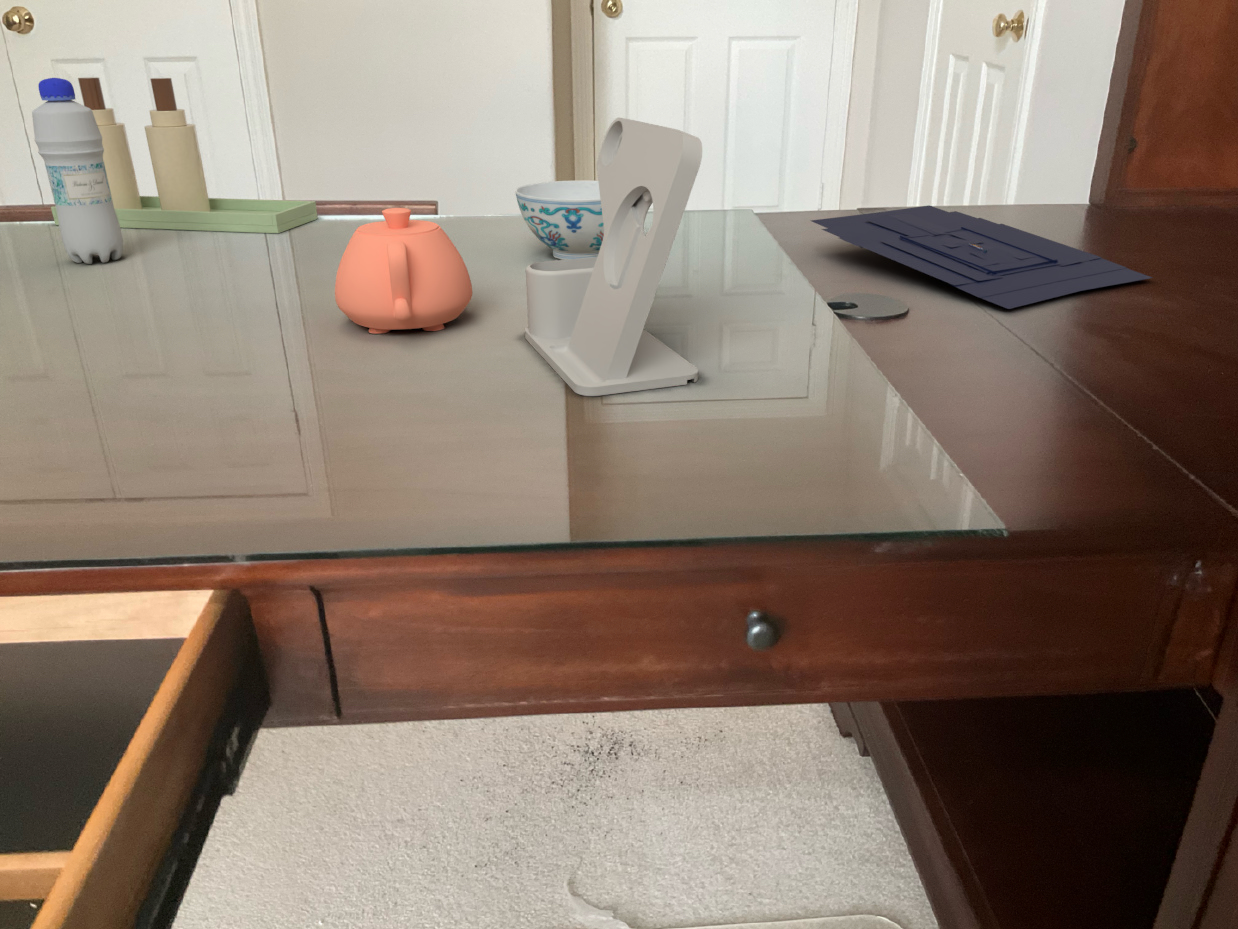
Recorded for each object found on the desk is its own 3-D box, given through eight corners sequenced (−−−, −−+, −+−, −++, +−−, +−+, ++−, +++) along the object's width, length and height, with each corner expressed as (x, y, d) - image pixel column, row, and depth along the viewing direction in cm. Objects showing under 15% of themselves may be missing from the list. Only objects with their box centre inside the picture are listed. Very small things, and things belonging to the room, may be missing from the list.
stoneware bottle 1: (86, 212, 134) (54, 77, 126) (131, 207, 138) (102, 76, 131) (105, 217, 130) (73, 78, 122) (150, 211, 134) (122, 77, 127)
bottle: (78, 269, 106) (31, 79, 97) (57, 260, 110) (9, 77, 102) (138, 259, 110) (98, 77, 102) (115, 251, 114) (75, 75, 106)
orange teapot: (472, 301, 92) (465, 196, 88) (477, 343, 80) (469, 222, 76) (345, 307, 91) (331, 199, 86) (330, 351, 78) (313, 227, 74)
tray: (55, 225, 131) (50, 206, 130) (108, 211, 141) (105, 194, 140) (278, 233, 125) (275, 214, 124) (318, 218, 135) (315, 201, 134)
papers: (934, 224, 122) (941, 197, 120) (1145, 301, 101) (1157, 269, 99) (793, 244, 111) (798, 214, 109) (998, 336, 89) (1009, 300, 87)
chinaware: (543, 274, 103) (540, 203, 100) (502, 248, 115) (498, 184, 112) (664, 262, 108) (665, 194, 105) (612, 238, 121) (612, 177, 118)
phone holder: (520, 333, 83) (510, 117, 75) (627, 322, 86) (627, 114, 78) (580, 397, 68) (575, 137, 60) (706, 381, 71) (716, 132, 63)
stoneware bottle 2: (154, 215, 132) (126, 78, 124) (197, 209, 136) (173, 76, 129) (175, 220, 128) (147, 79, 121) (219, 214, 133) (195, 77, 125)
